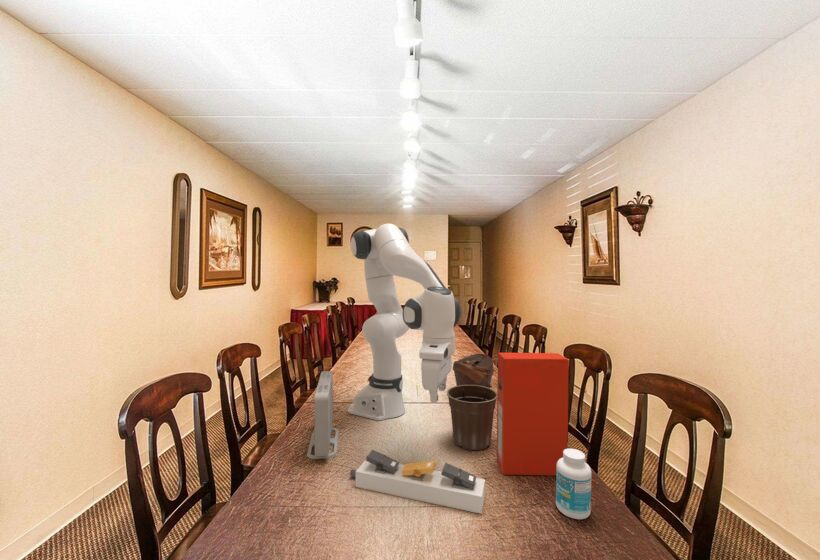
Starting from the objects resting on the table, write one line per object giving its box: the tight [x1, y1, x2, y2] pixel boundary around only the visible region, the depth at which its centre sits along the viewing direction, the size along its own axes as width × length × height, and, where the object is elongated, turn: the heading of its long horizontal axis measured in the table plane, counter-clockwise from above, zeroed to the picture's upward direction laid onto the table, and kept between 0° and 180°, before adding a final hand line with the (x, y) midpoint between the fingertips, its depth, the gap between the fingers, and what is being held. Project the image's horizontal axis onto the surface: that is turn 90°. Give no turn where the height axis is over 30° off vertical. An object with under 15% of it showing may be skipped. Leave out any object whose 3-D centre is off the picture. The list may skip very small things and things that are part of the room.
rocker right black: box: [441, 462, 477, 489], centre depth 86 cm, size 8×4×2 cm, turn 73°
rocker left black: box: [365, 449, 400, 474], centre depth 92 cm, size 8×4×2 cm, turn 73°
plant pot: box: [446, 385, 498, 451], centre depth 115 cm, size 16×16×16 cm
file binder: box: [496, 352, 570, 476], centre depth 99 cm, size 8×17×32 cm, turn 89°
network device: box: [306, 370, 340, 460], centre depth 113 cm, size 26×9×20 cm, turn 9°
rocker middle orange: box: [402, 460, 437, 477], centre depth 89 cm, size 8×4×2 cm, turn 72°
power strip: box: [349, 459, 486, 515], centre depth 89 cm, size 35×7×4 cm, turn 72°
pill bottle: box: [555, 448, 593, 520], centre depth 82 cm, size 8×7×14 cm
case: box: [451, 353, 494, 389], centre depth 154 cm, size 18×20×18 cm
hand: (438, 395), depth 97 cm, fingers open, 8 cm apart
